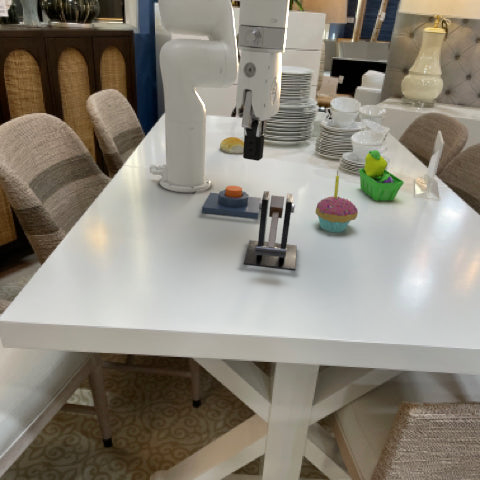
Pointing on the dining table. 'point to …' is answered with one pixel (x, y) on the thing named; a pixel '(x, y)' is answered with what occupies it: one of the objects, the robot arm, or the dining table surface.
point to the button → (233, 191)
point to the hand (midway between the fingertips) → (252, 158)
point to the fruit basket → (378, 178)
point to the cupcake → (335, 211)
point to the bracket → (272, 261)
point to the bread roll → (232, 145)
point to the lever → (273, 230)
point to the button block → (232, 205)
